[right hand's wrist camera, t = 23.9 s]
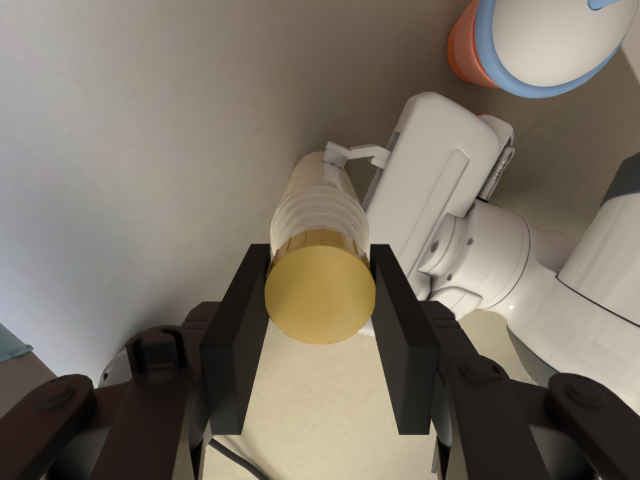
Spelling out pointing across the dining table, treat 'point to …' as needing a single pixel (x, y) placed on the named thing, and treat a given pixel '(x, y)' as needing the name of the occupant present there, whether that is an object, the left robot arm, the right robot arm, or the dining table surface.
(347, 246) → the cap
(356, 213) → the bottle
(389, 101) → the dining table surface
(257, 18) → the dining table surface
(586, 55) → the cup with straw
